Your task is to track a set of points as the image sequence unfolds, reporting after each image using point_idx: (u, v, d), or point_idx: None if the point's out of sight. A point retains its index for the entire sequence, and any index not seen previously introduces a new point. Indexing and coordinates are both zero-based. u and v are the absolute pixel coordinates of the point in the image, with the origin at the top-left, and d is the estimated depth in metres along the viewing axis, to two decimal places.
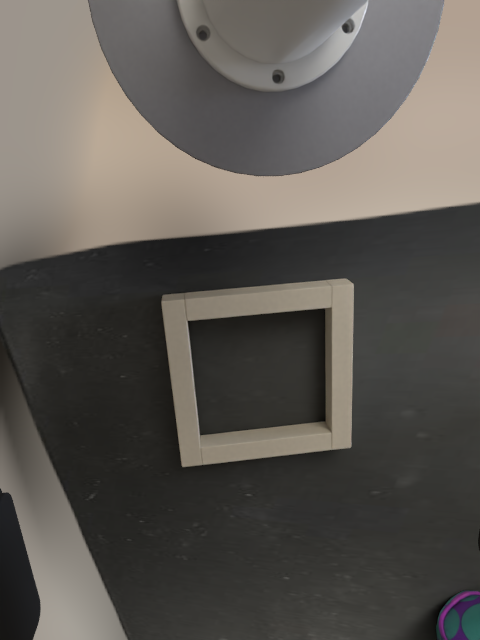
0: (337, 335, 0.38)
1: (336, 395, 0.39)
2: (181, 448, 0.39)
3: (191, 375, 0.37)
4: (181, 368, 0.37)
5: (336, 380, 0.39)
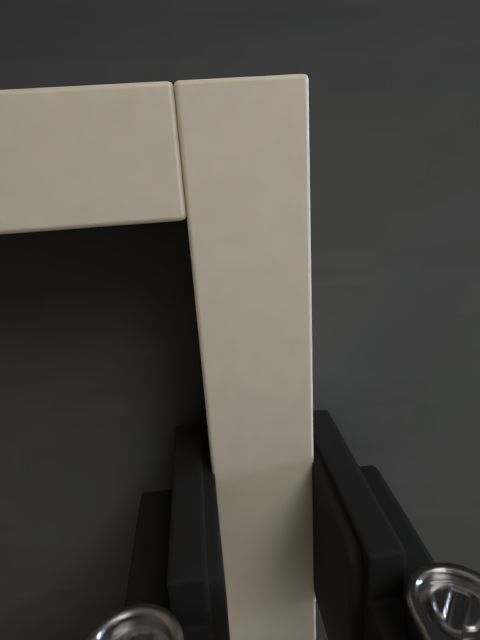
0: (233, 374, 0.07)
1: (248, 624, 0.09)
2: None
3: None
4: None
5: (243, 569, 0.09)
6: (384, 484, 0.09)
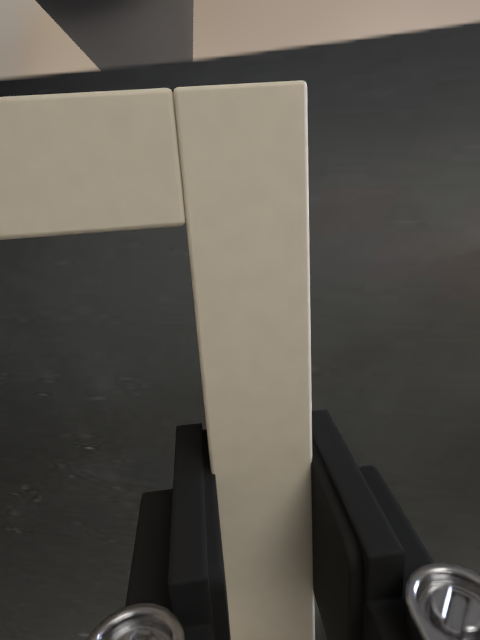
0: (232, 378, 0.07)
1: (247, 626, 0.09)
2: None
3: None
4: None
5: (242, 572, 0.09)
6: (384, 485, 0.09)
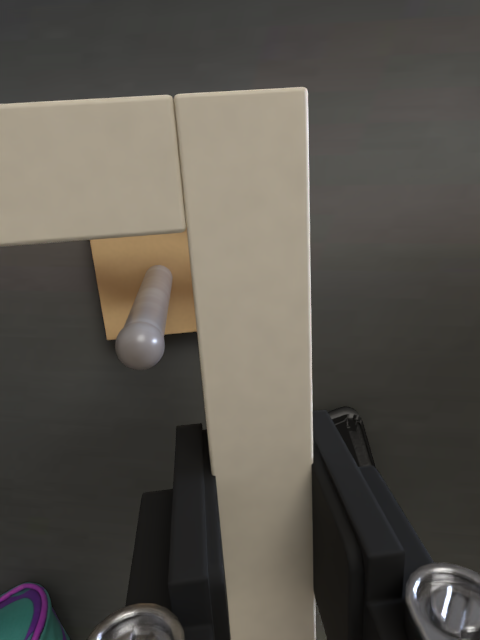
0: (233, 385, 0.07)
1: (248, 632, 0.09)
2: None
3: None
4: None
5: (243, 577, 0.09)
6: (384, 485, 0.09)
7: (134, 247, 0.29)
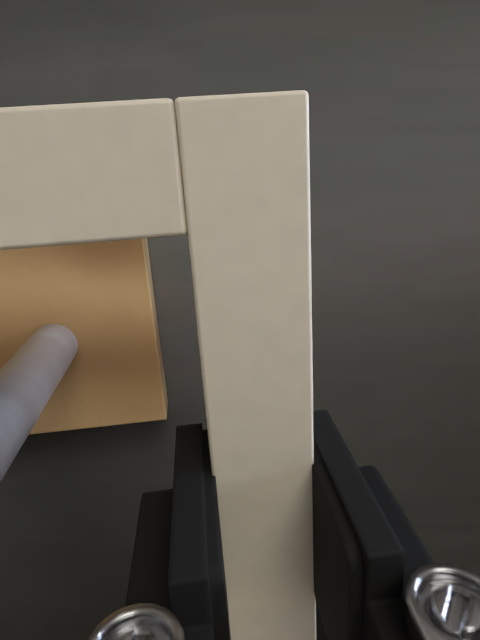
0: (233, 387, 0.07)
1: (248, 633, 0.09)
2: None
3: None
4: None
5: (244, 579, 0.09)
6: (384, 484, 0.09)
7: (9, 296, 0.18)
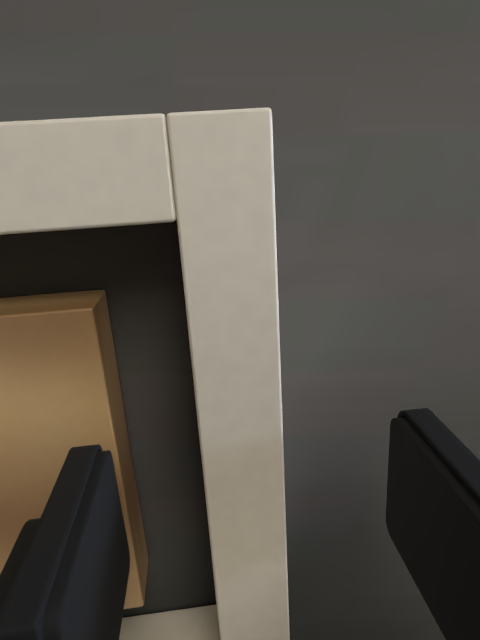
0: (214, 347, 0.09)
1: (229, 561, 0.11)
2: None
3: None
4: None
5: (225, 513, 0.10)
6: None
7: None
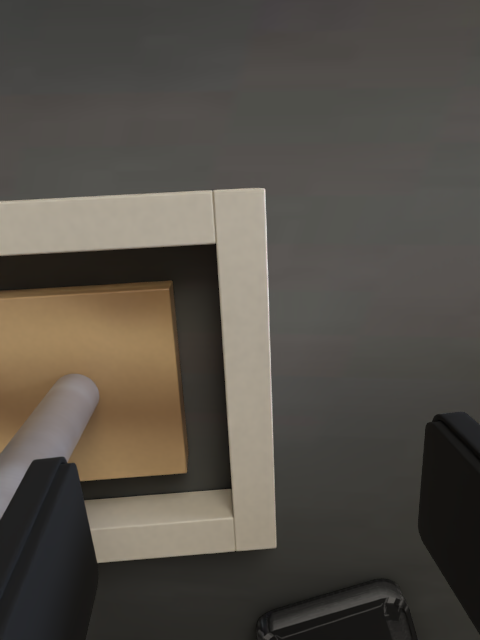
0: (233, 311, 0.17)
1: (239, 441, 0.18)
2: None
3: None
4: None
5: (237, 409, 0.18)
6: None
7: (33, 345, 0.17)
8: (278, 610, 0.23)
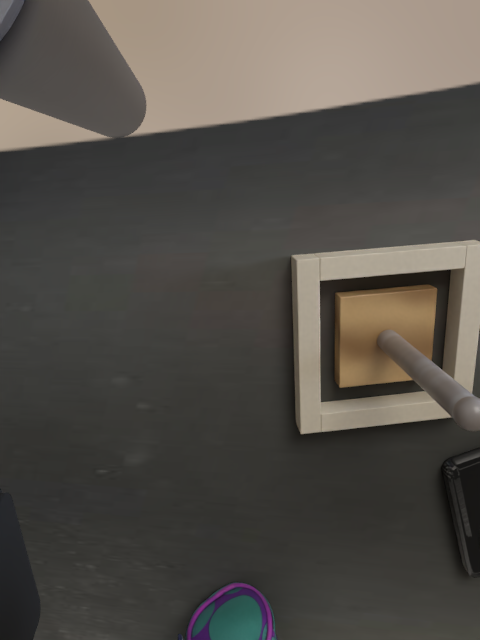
0: (467, 298, 0.37)
1: (460, 360, 0.39)
2: (302, 414, 0.39)
3: (319, 338, 0.37)
4: (310, 330, 0.36)
5: (462, 344, 0.38)
6: None
7: (372, 316, 0.37)
8: (455, 456, 0.44)
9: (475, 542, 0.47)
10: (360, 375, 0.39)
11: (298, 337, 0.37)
